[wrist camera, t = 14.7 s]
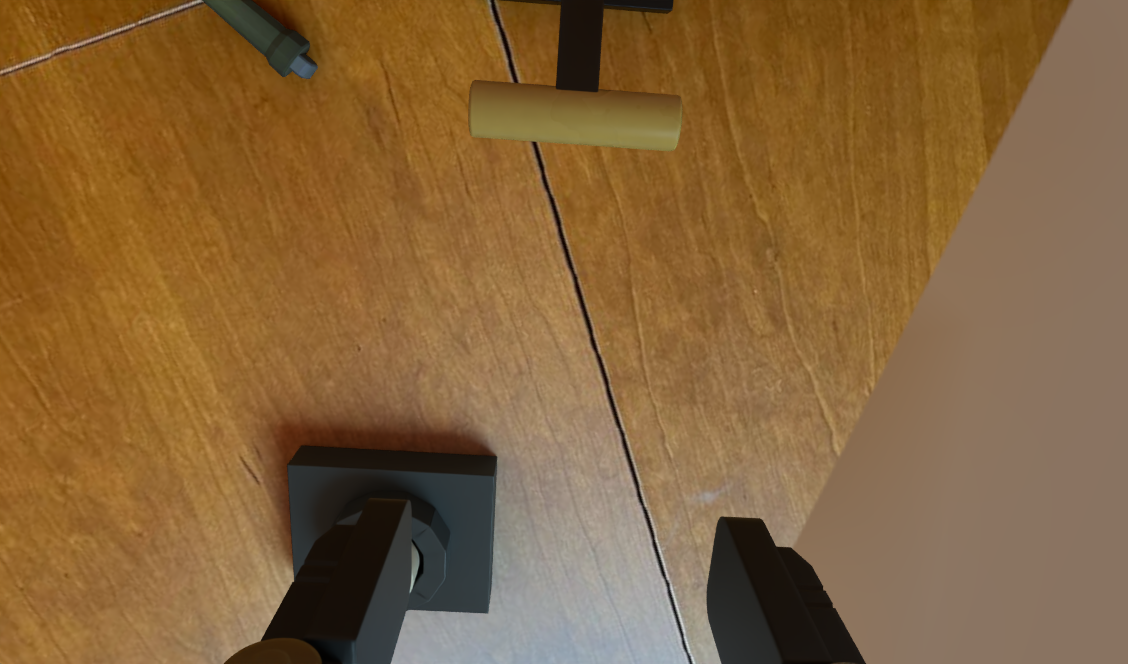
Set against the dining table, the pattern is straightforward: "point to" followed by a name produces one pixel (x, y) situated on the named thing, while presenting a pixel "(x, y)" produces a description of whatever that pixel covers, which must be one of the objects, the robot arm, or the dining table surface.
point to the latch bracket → (622, 4)
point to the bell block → (439, 514)
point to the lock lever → (576, 98)
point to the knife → (267, 36)
